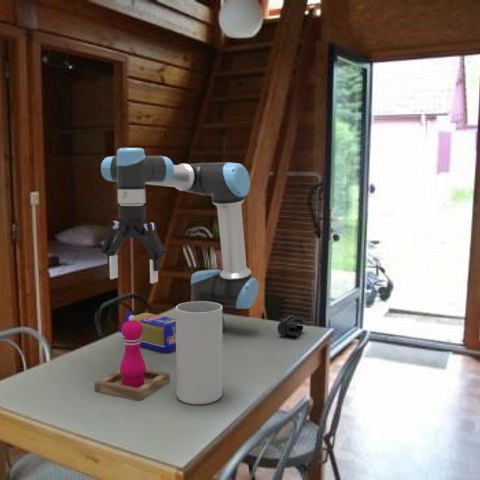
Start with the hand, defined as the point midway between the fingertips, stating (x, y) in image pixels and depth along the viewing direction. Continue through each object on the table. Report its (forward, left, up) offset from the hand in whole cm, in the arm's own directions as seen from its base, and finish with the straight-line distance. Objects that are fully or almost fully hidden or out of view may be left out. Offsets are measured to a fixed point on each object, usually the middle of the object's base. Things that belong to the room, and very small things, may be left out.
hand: (133, 280), depth 154 cm
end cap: (-65, +24, -31) cm, 76 cm away
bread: (-33, -17, -31) cm, 48 cm away
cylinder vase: (-1, +20, -31) cm, 37 cm away
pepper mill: (+1, 0, -30) cm, 30 cm away
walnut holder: (+1, 0, -31) cm, 31 cm away
